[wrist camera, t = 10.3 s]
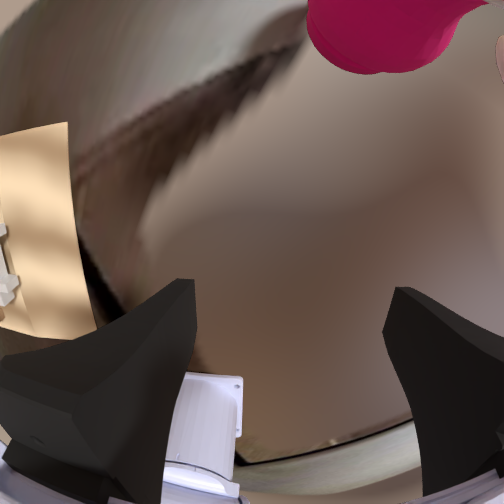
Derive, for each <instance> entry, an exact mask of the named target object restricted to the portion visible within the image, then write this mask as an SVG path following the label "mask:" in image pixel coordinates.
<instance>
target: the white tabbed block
mask: <svg viewBox="0 0 504 504" xmlns="http://www.w3.org/2000/svg"><path fill="white" fill-rule="evenodd" d="M6 233H7V232H6V227H5V223H0V237H1V236H2V235H4V234H6ZM17 285H19V281H18V278H17V275H12V274H8V273H7V269H6V265H5V261H4V257H3V253H2V249H1V245H0V306H4V307H5V306H6V305H7V304H8V303H9V302H10V301H11V300H12V299H13V298H14V297H15V296H14V293H13V289H14V288H15V287H16V286H17Z"/></svg>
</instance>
